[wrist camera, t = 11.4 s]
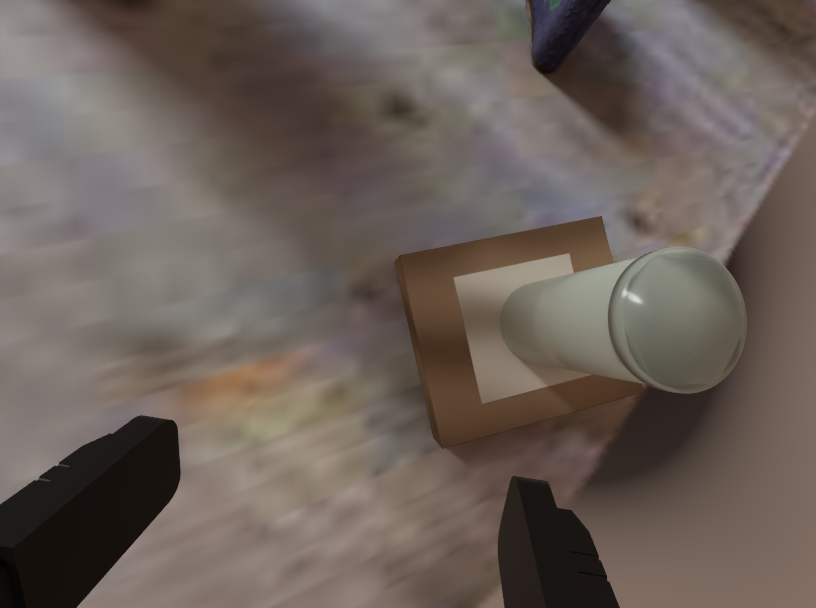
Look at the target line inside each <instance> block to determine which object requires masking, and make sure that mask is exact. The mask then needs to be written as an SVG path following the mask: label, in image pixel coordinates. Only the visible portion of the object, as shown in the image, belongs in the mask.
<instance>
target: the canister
mask: <svg viewBox="0 0 816 608" xmlns="http://www.w3.org/2000/svg"><path fill="white" fill-rule="evenodd" d="M500 328H501V333H502V337H503V339H504V341H505V343H506V345H507V347H508V348H509V349H510V351H511V352H512V353H513V354H514V355H516V356H517V357H518V358H520V359H522V360H523V361H526V362H529V363H533V364H538V365H543V366H549V367H554V368H560V369H565V370H571V371H576V372H582V373H587V374H593V375H598V376H603V377H609V378H614V379H620V380H625V381H631V382H636V383H642V384H647V385H649V386H651V387H654V388H657V389H661V390H665V391H670V392H676V393H684V394H685V393H696V392H701V391H704V390H707V389H709V388H711V387H713V386H715V385H716V384H718V383H719V382H720V381H722V380H723V379H724V378H725V377H726V376H727V375H728V374H729V373H730V372H731V370H732V369H733V368H734V367H735V365H736V363H737V361H738V360H739V357H740V355H741V353H742V350H743V347H744V343H745V339H746V332H747V317H746V309H745V304H744V300H743V297H742V294H741V292H740V289H739V287H738V285H737V283H736V281H735V280H734V278H733V277H732V275H731V274H730V272H729V271H728V270H727V269H726V268H725V267H724V266H723V265H722V264H721V263H720V262H719V261H718V260H717V259H715V258H714V257H712V256H711V255H709V254H707V253H705V252H703V251H701V250H697V249H694V248H689V247H670V248H665V249H661V250H657V251H653V252H650V253H647V254H645V255H643V256H641V257H639V258H634V259H630V260H626V261H622V262H617V263H613V264H609V265H605V266H600V267H596V268H592V269H588V270H583V271H579V272H575V273H571V274H566V275H562V276H558V277H554V278H549V279H545V280H541V281H537V282H533V283H529V284H525V285H523V286H521V287H519V288H517V289H516V290H515V291H514V292H512V293H511V295H510V296H509V297H508V298H507V300H506V301H505V303H504V305H503V308H502V311H501V317H500Z"/></svg>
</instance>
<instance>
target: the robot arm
mask: <svg viewBox="0 0 816 608" xmlns="http://www.w3.org/2000/svg"><path fill="white" fill-rule="evenodd" d="M179 481H180V457H179V443H178V429H177V425H176V423H175V422H174V421H173V420H168V419H161V418H155V417H149V416H142V415H141V416H137V417H135V418H134V419H132V420H131V421H130V422H128V423H127V424H126V425H124V426H123V427H121V428H120V429H119V430H117V431H116V432H115V433H113V434H108V435H106V436H103V437H101V438H99V439H97V440H95V441H92V442H90V443H88V444H86V445H83V446H82V447H80V448H79V449H77V450H76V451H75V452H73V453H72V454H70V455H69V456H68V457H66V458H65V459H63V460H62V461H61V462H59V465H58V466H54V467H52V468H51V469H49V470H48V471H47V472H45V473H44V474H42V475H41V476H40V477H39V479H38V480H37V481H36V480H34V481H33V482H31V483H30V484H28V485H27V486H26V487H24V488H23V489H21V490H20V491H19V492H17V493H16V494H14V495H13V496H12V497H10V498H9V499H7V500H6V501H5V502H3V503H2V504H0V608H77V606H78V605H79V604H80V603H81V602H82V601H83V600H84V598H85V597H86V596H87V595H88V594H89V593H90V592H91V590H92V589H93V588H94V587H95V586H96V585H97V584H98V583H99V581H100V580H101V579H102V578H103V577H104V576H105V575H106V573H107V572H108V571H109V570H110V569H111V568H112V567H113V565H114V564H115V563H116V562H117V561H118V560H119V559H120V558H121V556H122V555H123V554H124V553H125V552H126V551H127V550H128V548H129V547H130V546H131V545H132V544H133V543H134V542H135V540H136V539H137V538H138V537H139V536H140V535H141V534H142V532H143V531H144V530H145V529H146V528H147V527H148V526H149V525H150V523H151V522H152V521H153V520H154V519H155V518H156V517H157V515H158V514H159V513H160V512H161V511H162V510H163V509H164V507H165V506H166V505H167V504H168V503H169V502H170V500H171V499H172V497H173V496H174V494H175V492H176V490H177V487H178V484H179ZM498 561H499V568H500V576H501V584H502V591H503V598H504V606H505V608H620V607H619V605H618V602H617V600H616V598H615V595H614V592H613V590H612V587H611V585H610V583H609V582H608V581H607V575H606V572H605V570H604V568H603V565H602V562H601V561H600V560H599V555H598V553H597V550H596V548H595V545H594V543H593V540H592V538H591V535H590V533H589V531H588V530H587V529H586V527H585V526H584V525H583V524H582V523H581V521H580V520H579V519H578V518H577V517H576V516H575V514H574V513H573V512H572V510H566V509H560V508H557V506H556V503H555V500H554V497H553V494H552V491H551V488H550V486H549V484H548V482H547V481H542V480H536V479H530V478H523V477H517V476H513V477H512V478H511V481H510V484H509V489H508V493H507V498H506V502H505V506H504V511H503V515H502V519H501V524H500V529H499V536H498Z"/></svg>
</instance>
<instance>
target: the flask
mask: <svg viewBox="0 0 816 608" xmlns="http://www.w3.org/2000/svg"><path fill="white" fill-rule="evenodd" d="M610 1H611V0H526V7H525V8H526V10H527V13H526V14H527V16H528V17H529V19H530V22H531V28H530V29H529V31H530V34H531V36H532V41H531V44H530V45H529V46H531V47H530V48H531V52H530V53H531V63H532V64H533V66H534V67H536V70H538V72H539V74H540V73H546V74H552V73H554V72H556V71H557V70H558V68H559V67H560V65H561V64H562V63H563V61H564V60H565V59H566V57H567V56H568V55H569V53H570V52H571V51H572V50H573V48H574V47H575V46H576V45H577V44H578V43H579V41H580V40H581V38H582V37H583V36H584V34H585V33H586V31H587V30H588V29H589V27H590V26H591V25H592V23H593V22H594V21H595V20H596V19H597V17H598V16H599V15H600V14H601V12H602V11H603V9H604V8H605V7H606V5H607V4H609V2H610Z"/></svg>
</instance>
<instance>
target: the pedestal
mask: <svg viewBox="0 0 816 608" xmlns="http://www.w3.org/2000/svg"><path fill="white" fill-rule="evenodd" d="M609 264H613V261H612V257H611V253H610V249H609V245H608V240H607V236H606V232H605V228H604V224H603V219H602V216H600V217H595V218H590V219H585V220H579V221H574V222H569V223H564V224H559V225H554V226H549V227H543V228H538V229H533V230H528V231H523V232H518V233H513V234H508V235H502V236H497V237H492V238H487V239H482V240H477V241H472V242H466V243H461V244H456V245H451V246H446V247H441V248H436V249H430V250H425V251H420V252H415V253H410V254H405V255H400V256H399V257H398V259H397V260H396V261H395V266H396V270H397V275H398V279H399V284H400V288H401V293H402V297H403V302H404V307H405V311H406V316H407V320H408V325H409V329H410V334H411V338H412V343H413V347H414V352H415V356H416V361H417V365H418V370H419V374H420V379H421V383H422V388H423V392H424V397H425V401H426V406H427V410H428V415H429V419H430V424H431V428H432V433H433V437H434V439H435V440H436V441H437V443H438V444H439V445H440V446H441V447H442V449H444V448H447V447H451V446H454V445H458V444H461V443H465V442H468V441H472V440H476V439H479V438H483V437H486V436H490V435H493V434H497V433H500V432H504V431H507V430H511V429H515V428H518V427H522V426H525V425H529V424H532V423H536V422H539V421H543V420H546V419H550V418H554V417H557V416H561V415H564V414H568V413H571V412H575V411H578V410H582V409H585V408H589V407H593V406H596V405H600V404H603V403H607V402H610V401H614V400H617V399H621V398H624V397H628V396H632V395H635V394H639V393H642V392H644V391H643V387H642V383H636V382H631V381H625V380H620V379H614V378H609V377H603V376H598V375H593V374H587V373H582V372H576V371H571V370H565V369H560V368H554V367H549V366H543V365H538V364H533V363H529V362H526V361H523V360H522V359H520V358H518V357H517V356H516V355H514V354H513V353H512V352H511V351H510V349H509V348H508V347H507V345H506V343H505V341H504V339H503V337H502V333H501V328H500V317H501V311H502V308H503V305H504V303H505V301H506V300H507V298H508V297H509V296H510V295H511V293H512V292H514V291H515V290H516V289H517V288H519V287H521V286H523V285H525V284H529V283H533V282H537V281H541V280H545V279H549V278H554V277H558V276H562V275H566V274H571V273H575V272H579V271H583V270H588V269H592V268H596V267H600V266H605V265H609Z"/></svg>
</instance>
